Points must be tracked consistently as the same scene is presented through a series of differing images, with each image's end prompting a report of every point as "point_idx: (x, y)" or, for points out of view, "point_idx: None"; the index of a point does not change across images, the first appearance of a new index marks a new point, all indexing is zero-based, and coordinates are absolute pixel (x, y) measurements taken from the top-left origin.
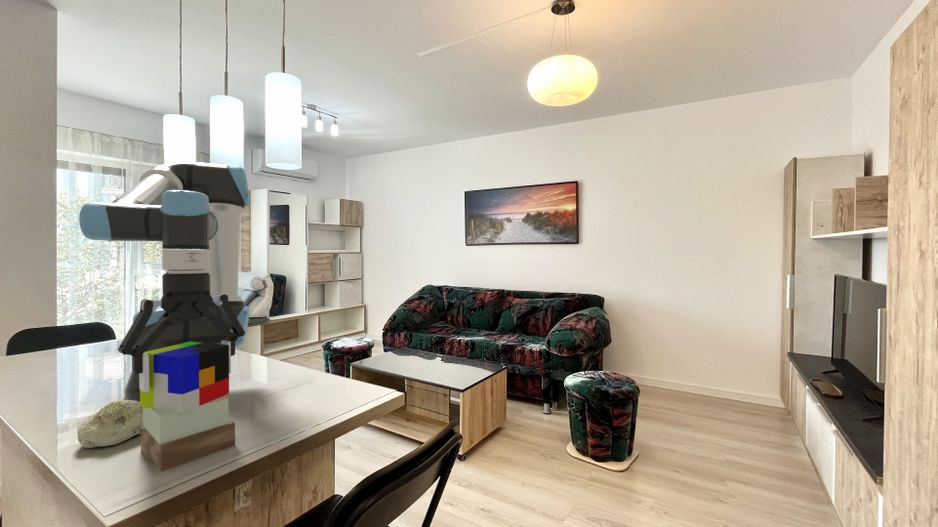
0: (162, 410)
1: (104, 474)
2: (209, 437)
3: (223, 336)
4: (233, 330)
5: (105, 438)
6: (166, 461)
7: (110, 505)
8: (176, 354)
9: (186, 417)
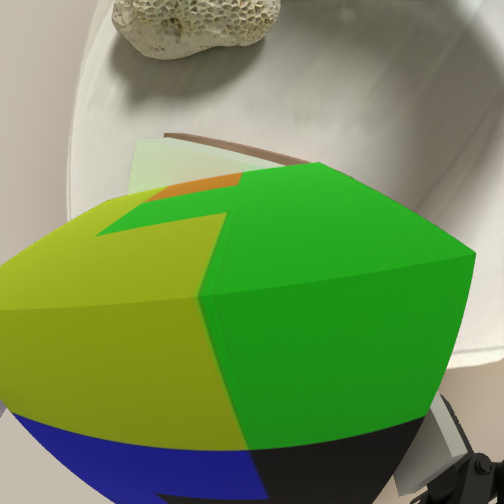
0: None
1: (103, 186)
2: None
3: (462, 481)
4: (498, 492)
5: (143, 51)
6: None
7: None
8: (107, 485)
9: None
